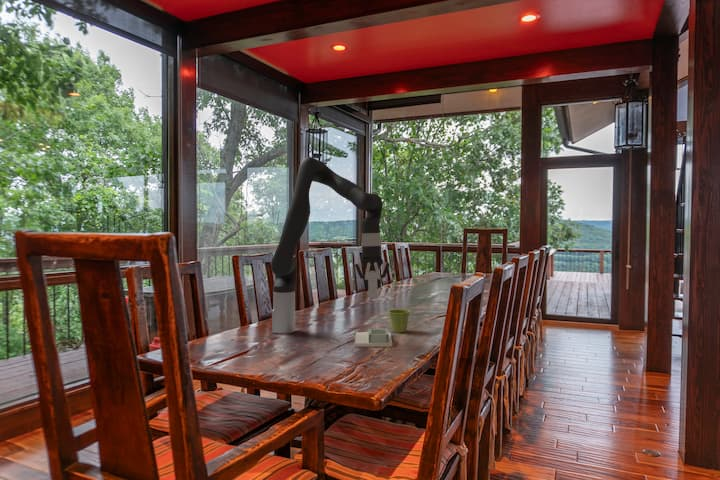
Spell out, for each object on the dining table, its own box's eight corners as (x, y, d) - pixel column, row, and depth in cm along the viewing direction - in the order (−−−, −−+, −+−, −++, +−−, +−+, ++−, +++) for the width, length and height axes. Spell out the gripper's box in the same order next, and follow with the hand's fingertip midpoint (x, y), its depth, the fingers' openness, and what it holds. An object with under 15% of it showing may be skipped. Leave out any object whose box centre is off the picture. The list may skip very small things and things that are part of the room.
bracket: (368, 298, 176) (367, 272, 175) (368, 296, 182) (367, 271, 181) (377, 298, 175) (376, 272, 175) (377, 295, 181) (376, 270, 181)
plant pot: (385, 333, 192) (385, 312, 192) (392, 328, 201) (392, 308, 201) (406, 334, 189) (406, 313, 189) (412, 330, 198) (412, 310, 197)
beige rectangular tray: (354, 346, 171) (354, 335, 170) (356, 335, 189) (356, 325, 188) (392, 346, 170) (392, 335, 170) (390, 335, 188) (390, 325, 188)
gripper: (352, 245, 174) (354, 291, 175) (390, 244, 174) (391, 289, 175) (353, 245, 182) (355, 288, 182) (389, 243, 182) (390, 287, 182)
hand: (373, 288), depth 178 cm, fingers closed on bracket, 3 cm apart
